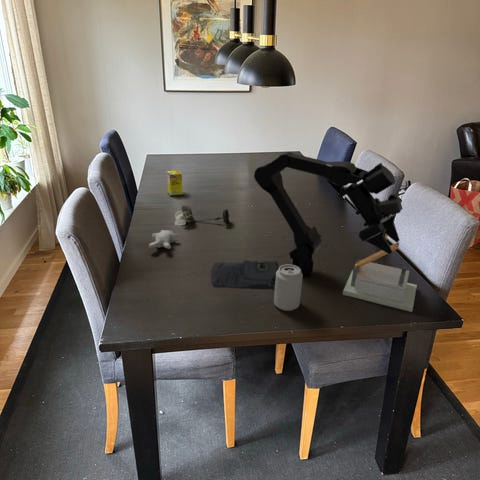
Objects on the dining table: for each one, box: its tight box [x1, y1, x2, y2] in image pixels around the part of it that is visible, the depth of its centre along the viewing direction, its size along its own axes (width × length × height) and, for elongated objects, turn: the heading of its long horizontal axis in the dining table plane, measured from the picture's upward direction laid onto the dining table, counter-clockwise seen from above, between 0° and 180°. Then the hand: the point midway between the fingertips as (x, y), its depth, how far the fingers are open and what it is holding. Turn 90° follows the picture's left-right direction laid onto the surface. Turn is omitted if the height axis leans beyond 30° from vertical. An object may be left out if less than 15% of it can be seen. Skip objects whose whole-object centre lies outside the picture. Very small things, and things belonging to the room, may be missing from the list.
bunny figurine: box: [148, 229, 179, 250], centre depth 156 cm, size 10×5×15 cm
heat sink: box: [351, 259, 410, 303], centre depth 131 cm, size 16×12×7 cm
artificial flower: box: [174, 205, 230, 227], centre depth 175 cm, size 9×22×10 cm, turn 84°
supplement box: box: [166, 170, 183, 198], centre depth 205 cm, size 6×6×11 cm
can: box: [273, 264, 303, 312], centre depth 122 cm, size 8×8×12 cm
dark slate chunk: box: [210, 259, 279, 290], centre depth 138 cm, size 15×22×5 cm
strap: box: [354, 241, 400, 268], centre depth 129 cm, size 15×4×1 cm
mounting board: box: [342, 269, 418, 313], centre depth 132 cm, size 20×14×2 cm
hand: (394, 247), depth 123 cm, fingers open, 9 cm apart
